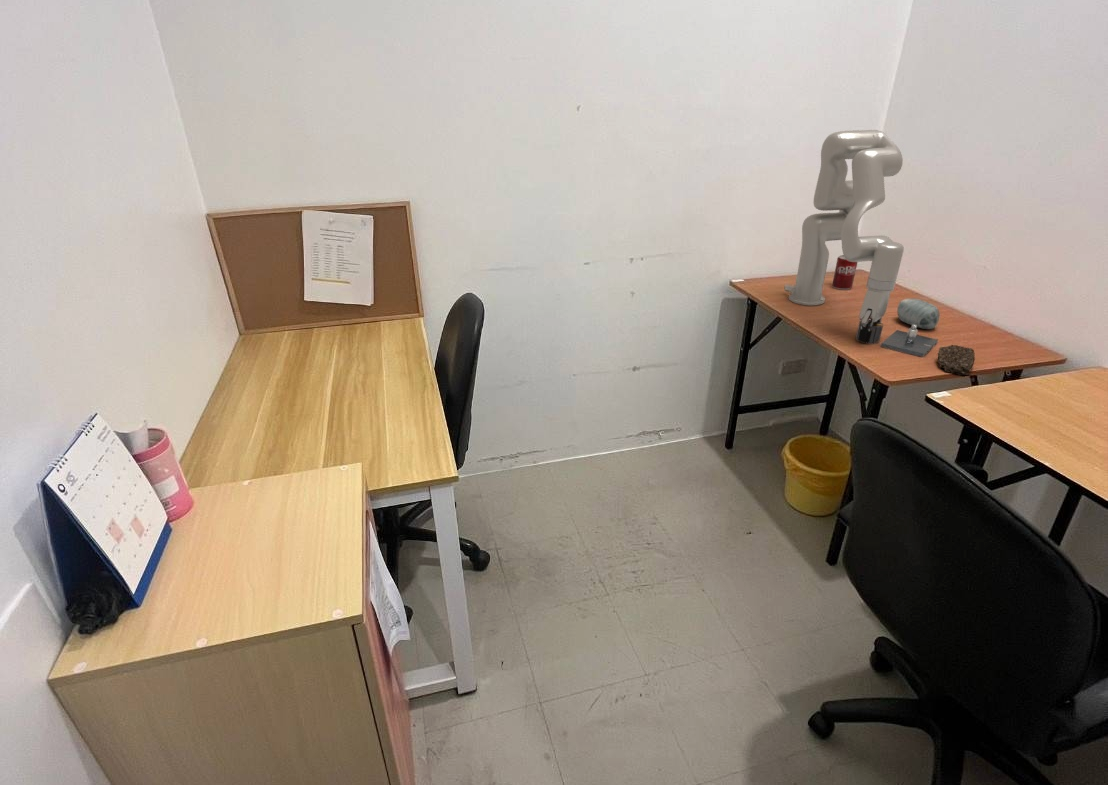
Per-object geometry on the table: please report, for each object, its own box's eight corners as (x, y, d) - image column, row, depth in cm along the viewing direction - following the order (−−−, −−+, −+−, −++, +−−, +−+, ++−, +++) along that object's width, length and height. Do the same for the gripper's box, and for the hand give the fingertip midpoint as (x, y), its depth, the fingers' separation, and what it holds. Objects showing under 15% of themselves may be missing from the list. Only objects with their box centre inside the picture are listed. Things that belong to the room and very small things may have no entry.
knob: (852, 340, 190) (856, 323, 187) (860, 333, 194) (864, 317, 192) (874, 345, 186) (878, 328, 183) (882, 339, 190) (886, 322, 187)
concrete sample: (939, 355, 179) (944, 340, 177) (978, 365, 173) (984, 349, 170) (927, 368, 172) (931, 352, 170) (967, 378, 166) (972, 362, 163)
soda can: (855, 290, 232) (861, 259, 226) (836, 290, 232) (842, 260, 226) (847, 284, 238) (853, 254, 232) (828, 284, 238) (834, 254, 233)
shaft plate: (880, 346, 185) (885, 326, 182) (895, 333, 194) (901, 314, 191) (923, 357, 178) (929, 337, 175) (937, 343, 186) (943, 323, 183)
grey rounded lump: (951, 320, 194) (941, 294, 191) (927, 337, 193) (917, 311, 190) (918, 316, 207) (908, 291, 204) (896, 331, 206) (886, 307, 203)
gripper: (878, 274, 189) (865, 327, 198) (857, 288, 178) (845, 343, 187) (903, 279, 184) (889, 333, 193) (883, 293, 174) (870, 349, 182)
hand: (867, 337), depth 190 cm, fingers closed on knob, 6 cm apart
